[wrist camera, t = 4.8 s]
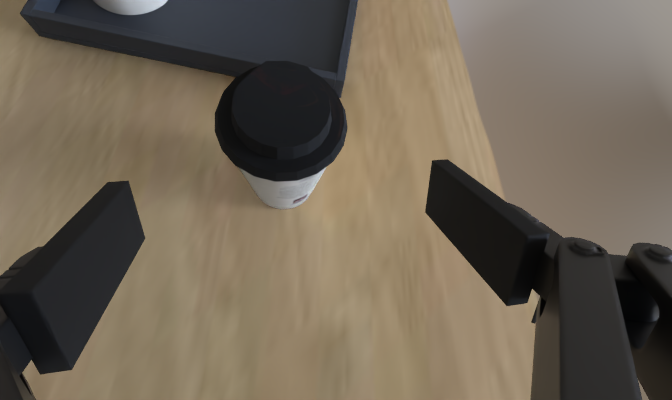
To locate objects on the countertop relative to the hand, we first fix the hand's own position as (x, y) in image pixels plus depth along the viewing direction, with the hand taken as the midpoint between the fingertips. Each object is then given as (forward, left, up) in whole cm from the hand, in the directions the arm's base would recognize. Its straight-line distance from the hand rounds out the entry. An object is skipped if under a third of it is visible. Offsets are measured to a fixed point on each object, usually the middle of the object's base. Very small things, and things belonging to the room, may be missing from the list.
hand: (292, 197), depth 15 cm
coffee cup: (-1, +5, -10) cm, 11 cm away
